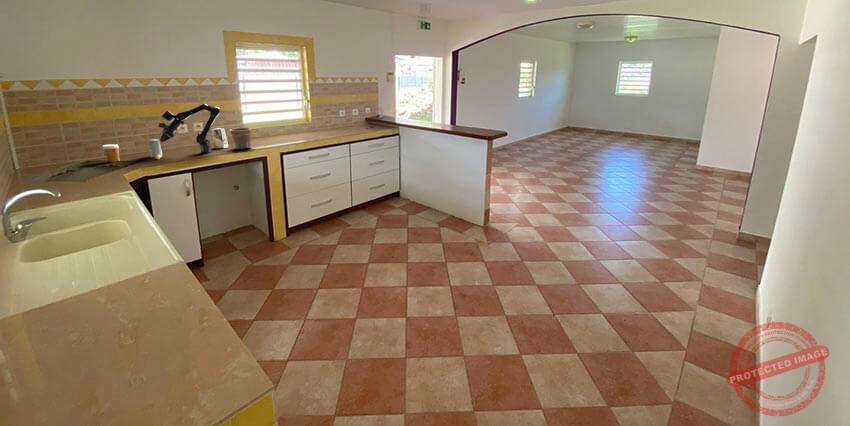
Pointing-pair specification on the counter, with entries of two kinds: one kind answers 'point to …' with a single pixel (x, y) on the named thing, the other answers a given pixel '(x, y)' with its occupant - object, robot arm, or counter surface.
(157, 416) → the counter surface
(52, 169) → the counter surface
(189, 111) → the robot arm
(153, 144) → the white tapered cylinder
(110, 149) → the disposable coffee cup
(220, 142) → the coffee box
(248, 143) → the plant pot
